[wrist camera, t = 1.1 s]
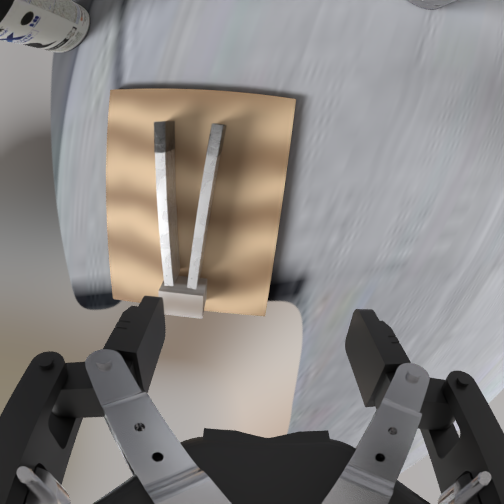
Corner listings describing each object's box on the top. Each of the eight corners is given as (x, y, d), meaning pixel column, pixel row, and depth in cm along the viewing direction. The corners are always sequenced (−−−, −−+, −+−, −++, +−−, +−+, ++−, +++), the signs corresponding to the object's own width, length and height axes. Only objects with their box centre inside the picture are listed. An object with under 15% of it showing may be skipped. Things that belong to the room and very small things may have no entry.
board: (115, 90, 30) (94, 87, 25) (293, 100, 31) (302, 96, 26) (117, 293, 40) (102, 315, 35) (264, 309, 42) (266, 335, 36)
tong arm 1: (180, 269, 37) (173, 286, 34) (171, 269, 37) (164, 285, 34) (174, 120, 31) (165, 121, 27) (164, 121, 31) (153, 121, 27)
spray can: (41, 51, 27) (-75, 36, 9) (59, 4, 25) (-45, -35, 6) (79, 55, 28) (-39, 30, 10) (99, 6, 26) (-2, -51, 7)
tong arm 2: (201, 272, 37) (196, 289, 34) (192, 270, 37) (186, 287, 34) (226, 125, 31) (223, 125, 27) (216, 123, 31) (211, 123, 27)
